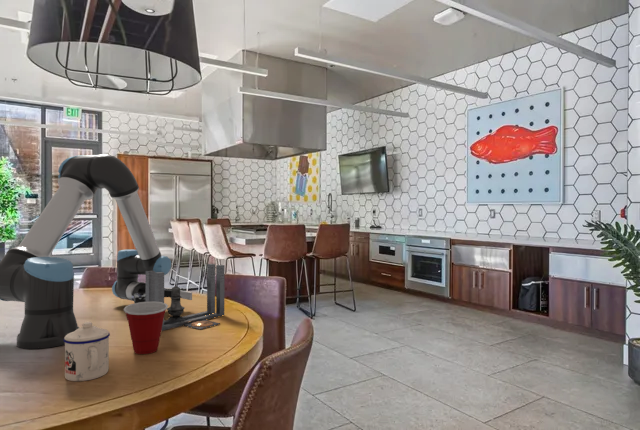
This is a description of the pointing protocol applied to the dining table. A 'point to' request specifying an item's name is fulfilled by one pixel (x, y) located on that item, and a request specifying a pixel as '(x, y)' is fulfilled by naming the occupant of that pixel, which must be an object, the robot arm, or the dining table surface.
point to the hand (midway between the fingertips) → (175, 299)
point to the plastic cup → (145, 325)
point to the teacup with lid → (86, 353)
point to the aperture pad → (201, 324)
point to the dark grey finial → (175, 304)
